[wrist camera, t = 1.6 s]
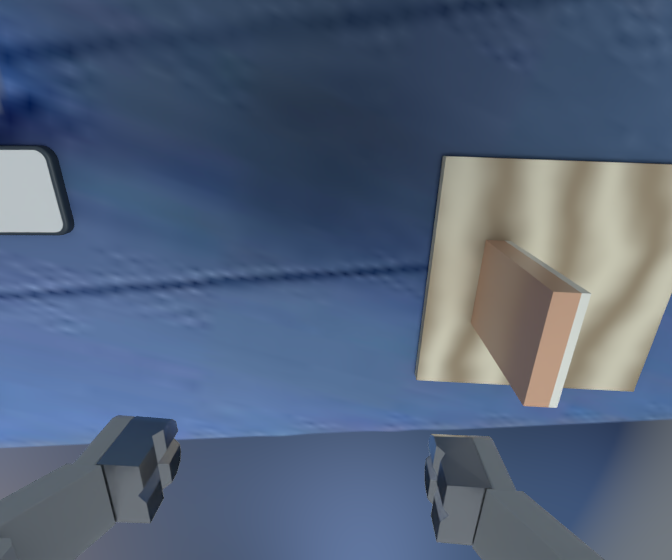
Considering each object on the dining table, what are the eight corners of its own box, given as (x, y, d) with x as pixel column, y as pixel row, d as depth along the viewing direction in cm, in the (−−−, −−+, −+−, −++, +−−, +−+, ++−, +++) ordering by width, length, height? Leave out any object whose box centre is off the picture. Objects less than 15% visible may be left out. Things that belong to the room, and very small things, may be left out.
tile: (485, 239, 36) (553, 291, 24) (510, 241, 36) (591, 293, 24) (470, 322, 39) (523, 405, 27) (493, 324, 39) (556, 407, 27)
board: (414, 373, 43) (416, 380, 42) (442, 155, 35) (446, 156, 33) (626, 384, 43) (633, 391, 41) (708, 165, 34) (720, 166, 33)
